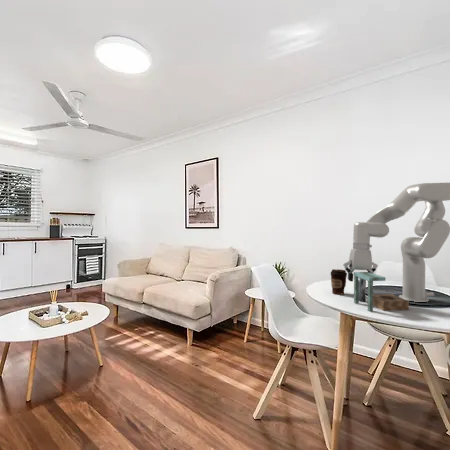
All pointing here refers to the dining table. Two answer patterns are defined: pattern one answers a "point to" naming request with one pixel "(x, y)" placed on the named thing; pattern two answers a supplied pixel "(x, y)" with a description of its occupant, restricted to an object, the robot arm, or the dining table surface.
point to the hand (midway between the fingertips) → (359, 281)
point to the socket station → (378, 300)
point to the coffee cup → (338, 281)
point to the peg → (362, 290)
